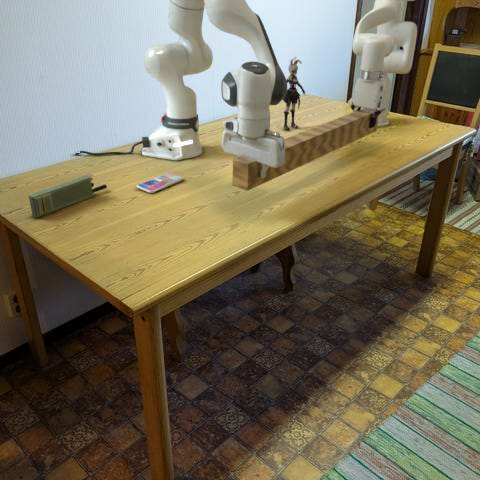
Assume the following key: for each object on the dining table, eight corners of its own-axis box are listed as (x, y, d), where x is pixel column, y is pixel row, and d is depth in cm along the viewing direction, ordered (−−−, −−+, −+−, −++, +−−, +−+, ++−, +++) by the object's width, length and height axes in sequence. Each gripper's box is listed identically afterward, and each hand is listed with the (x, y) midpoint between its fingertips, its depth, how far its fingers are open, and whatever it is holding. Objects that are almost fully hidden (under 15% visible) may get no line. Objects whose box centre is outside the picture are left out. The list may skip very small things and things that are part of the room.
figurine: (282, 133, 213) (286, 58, 198) (272, 129, 216) (275, 56, 202) (305, 126, 221) (311, 54, 206) (295, 123, 225) (300, 52, 210)
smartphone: (184, 177, 167) (150, 191, 157) (184, 180, 167) (151, 194, 157) (168, 171, 171) (134, 185, 161) (168, 174, 171) (135, 188, 161)
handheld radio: (30, 215, 144) (102, 188, 161) (37, 219, 142) (109, 191, 159) (26, 193, 140) (100, 168, 157) (33, 197, 138) (107, 171, 155)
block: (247, 190, 140) (248, 164, 136) (232, 185, 143) (232, 159, 139) (376, 131, 190) (379, 110, 186) (363, 127, 193) (366, 107, 189)
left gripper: (291, 131, 133) (288, 180, 140) (233, 116, 145) (233, 162, 151) (277, 137, 129) (274, 187, 136) (218, 121, 140) (218, 167, 147)
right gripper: (398, 77, 175) (390, 128, 184) (354, 70, 185) (348, 118, 194) (388, 80, 170) (380, 132, 179) (344, 73, 180) (338, 123, 189)
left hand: (252, 173), depth 144 cm, fingers closed on block, 5 cm apart
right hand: (364, 125), depth 187 cm, fingers closed on block, 5 cm apart
